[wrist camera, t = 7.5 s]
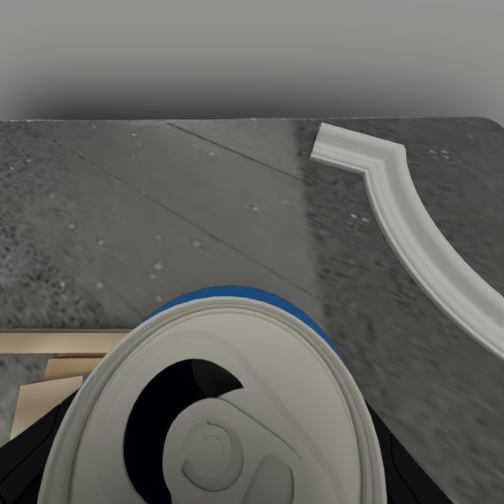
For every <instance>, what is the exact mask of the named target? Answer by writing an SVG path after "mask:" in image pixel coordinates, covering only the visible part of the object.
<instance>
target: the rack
mask: <svg viewBox="0 0 504 504" xmlns="http://www.w3.org/2000/svg"><path fill="white" fill-rule="evenodd" d="M132 330H133V329H0V353H108V352H109V351H110V350H111V349H112V348H113V347H114V346H115V345H116V344H117V343H118V342H119V341H120V340H121V339H122V338H123V337H125V336H126V335H127V334H128V333H129V332H131V331H132Z"/></svg>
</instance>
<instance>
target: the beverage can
mask: <svg viewBox="0 0 504 504" xmlns="http://www.w3.org/2000/svg"><path fill="white" fill-rule="evenodd" d="M154 377H155V379H154V382H153V384H152V386H151V385H148V383H149V382H150V381H151V380H152V379H153V378H154ZM37 504H387V494H386V484H385V474H384V467H383V462H382V456H381V451H380V446H379V442H378V438H377V435H376V432H375V428H374V425H373V422H372V418H371V416H370V413H369V411H368V408H367V406H366V404H365V401H364V399H363V396H362V394H361V392H360V390H359V388H358V387H357V385H356V383H355V381H354V379H353V377H352V375H351V374H350V372H349V371H348V369H347V367H346V365H345V363H344V361H343V360H342V358H341V356H340V354H339V352H338V351H337V349H336V348H335V346H334V345H333V343H332V342H331V340H330V339H329V338H328V336H327V335H326V334H325V333H324V332H323V331H322V329H321V328H320V327H319V326H318V325H317V324H316V323H315V322H314V321H313V320H312V319H311V318H310V317H309V316H308V315H306V314H305V313H304V312H303V311H302V310H300V309H299V308H297V307H296V306H294V305H293V304H292V303H290V302H288V301H286V300H284V299H283V298H281V297H279V296H277V295H274V294H272V293H269V292H266V291H264V290H260V289H255V288H251V287H244V286H235V285H233V286H215V287H209V288H204V289H200V290H197V291H193V292H190V293H187V294H185V295H183V296H180V297H178V298H176V299H174V300H172V301H170V302H168V303H167V304H165V305H163V306H162V307H160V308H158V309H157V310H156V311H154V312H153V313H152V314H150V315H149V316H147V317H146V318H145V319H144V320H143V321H141V322H140V323H139V324H138V325H137V326H136V327H135V328H134V329H133V330H132V331H131V332H129V333H128V334H127V335H126V336H125V337H123V338H122V339H121V340H120V341H119V342H118V343H117V344H116V345H115V346H114V347H113V348H112V349H111V350H110V351H109V352H108V353H107V354H106V355H105V356H104V357H103V359H102V360H101V361H100V362H99V363H98V364H97V366H96V367H95V368H94V369H93V371H92V372H91V373H90V375H89V376H88V378H87V379H86V380H85V382H84V383H83V385H82V386H81V388H80V389H79V391H78V393H77V394H76V396H75V398H74V400H73V401H72V403H71V405H70V407H69V408H68V410H67V412H66V414H65V416H64V419H63V421H62V423H61V425H60V427H59V430H58V432H57V434H56V436H55V439H54V442H53V445H52V448H51V451H50V454H49V457H48V460H47V463H46V466H45V470H44V474H43V478H42V482H41V487H40V491H39V495H38V502H37Z"/></svg>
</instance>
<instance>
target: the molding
mask: <svg viewBox="0 0 504 504" xmlns="http://www.w3.org/2000/svg"><path fill="white" fill-rule="evenodd" d="M309 160H313V161H316V162H320V163H323V164H327V165H330V166H334V167H337V168H340V169H344V170H347V171H351V172H354V173H358V174H361V175H363V181H364V185H365V190H366V193H367V197H368V200H369V203H370V206H371V208H372V211H373V213H374V216H375V218H376V221H377V223H378V225H379V227H380V229H381V231H382V233H383V235H384V237H385V238H386V240H387V242H388V244H389V245H390V247H391V249H392V250H393V252H394V253H395V255H396V256H397V258H398V259H399V261H400V262H401V264H402V265H403V267H404V268H405V269H406V271H407V272H408V273H409V275H410V276H411V277H412V278H413V280H414V281H415V282H416V283H417V285H418V286H419V287H420V288H421V289H422V291H423V292H424V293H425V294H426V295H427V296H428V297H429V298H430V299H431V300H432V302H433V303H434V304H435V305H436V306H437V307H438V308H439V309H440V310H441V311H442V312H443V313H444V314H445V315H446V316H447V317H448V318H449V319H451V320H452V321H453V322H454V323H455V324H456V325H457V326H458V327H459V328H461V329H462V330H463V331H464V332H465V333H466V334H468V335H469V336H470V337H471V338H472V339H474V340H475V341H476V342H477V343H479V344H480V345H481V346H483V347H484V348H485V349H487V350H488V351H489V352H491V353H492V354H494V355H495V356H496V357H498V358H499V359H501V360H502V361H504V297H503V296H501V295H500V294H499V293H498V292H497V291H495V290H494V289H493V288H492V287H491V286H490V285H488V284H487V283H486V282H485V281H484V280H483V279H482V278H481V277H480V276H479V275H478V274H477V273H476V272H475V271H473V270H472V268H471V267H470V266H469V265H468V264H467V263H466V262H465V261H464V260H463V259H462V258H461V257H460V256H459V255H458V253H457V252H456V251H455V250H454V249H453V248H452V246H451V245H450V244H449V243H448V241H447V240H446V239H445V238H444V236H443V235H442V234H441V232H440V231H439V230H438V228H437V227H436V225H435V224H434V222H433V221H432V219H431V218H430V216H429V214H428V213H427V211H426V209H425V208H424V206H423V204H422V202H421V200H420V198H419V196H418V194H417V192H416V189H415V187H414V185H413V182H412V179H411V177H410V173H409V170H408V166H407V162H406V149H405V148H404V145H401V144H397V143H394V142H390V141H386V140H383V139H379V138H376V137H372V136H369V135H365V134H361V133H358V132H354V131H351V130H347V129H343V128H340V127H336V126H333V125H329V124H325V123H321V125H320V126H319V129H318V132H317V135H316V140H315V143H314V146H313V149H312V152H311V156H310V159H309Z"/></svg>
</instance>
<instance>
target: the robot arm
mask: <svg viewBox="0 0 504 504" xmlns="http://www.w3.org/2000/svg"><path fill="white" fill-rule="evenodd" d="M154 379H155V377H154V378H153V379H152V380H151V381H150V382H149V383H148V385H151V386H152V384H153V382H154ZM80 388H81V387H80ZM80 388H79V389H80ZM79 389H77V390H76V391H75V392H73V393H72V394H71V395H70V396H68V397H67V398H66V399H65V400H63V401H62V402H61V404H58V405H57V406H55V407H54V408H53V409H52V410H50V411H49V412H48V413H46V414H45V415H44V416H43V417H41V418H40V419H39V420H37V421H36V422H35V423H33V424H32V425H31V426H29V427H28V428H27V429H25V430H24V431H23V432H21V433H20V434H19V435H17V436H16V437H15V438H13V439H12V440H10V441H9V442H8V443H6V444H5V445H3V446H2V447H1V448H0V504H37V502H38V495H39V491H40V487H41V482H42V478H43V474H44V470H45V466H46V463H47V460H48V457H49V454H50V451H51V448H52V445H53V442H54V439H55V436H56V434H57V432H58V430H59V427H60V425H61V423H62V421H63V419H64V416H65V414H66V412H67V410H68V408H69V407H70V405H71V403H72V401H73V400H74V398H75V396H76V394H77V393H78V391H79ZM363 399H364V398H363ZM364 401H365V404H366V406H367V408H368V411H369V413H370V416H371V418H372V422H373V425H374V428H375V432H376V435H377V438H378V442H379V446H380V451H381V456H382V462H383V467H384V474H385V484H386V494H387V504H454V503H453V502H452V501H451V500H450V499H449V498H448V497H447V496H446V495H445V493H444V492H443V491H442V490H441V489H440V488H439V487H438V486H437V485H436V484H435V482H434V481H433V480H432V479H431V478H430V477H429V476H428V475H427V473H426V472H425V471H424V470H423V469H422V468H421V467H420V466H419V464H418V463H417V462H416V461H415V460H414V458H413V457H412V456H411V455H410V454H409V453H408V451H407V450H406V449H405V448H404V447H403V445H402V444H401V443H400V442H399V440H398V439H397V438H396V437H395V436H394V434H393V433H390V430H389V428H388V427H387V426H386V425H385V423H384V422H383V421H382V420H381V419H380V417H379V416H378V415H377V414H376V412H375V411H374V410H373V409H372V408H371V406H370V405H369V404H368V403H367V401H366V400H365V399H364Z"/></svg>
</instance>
